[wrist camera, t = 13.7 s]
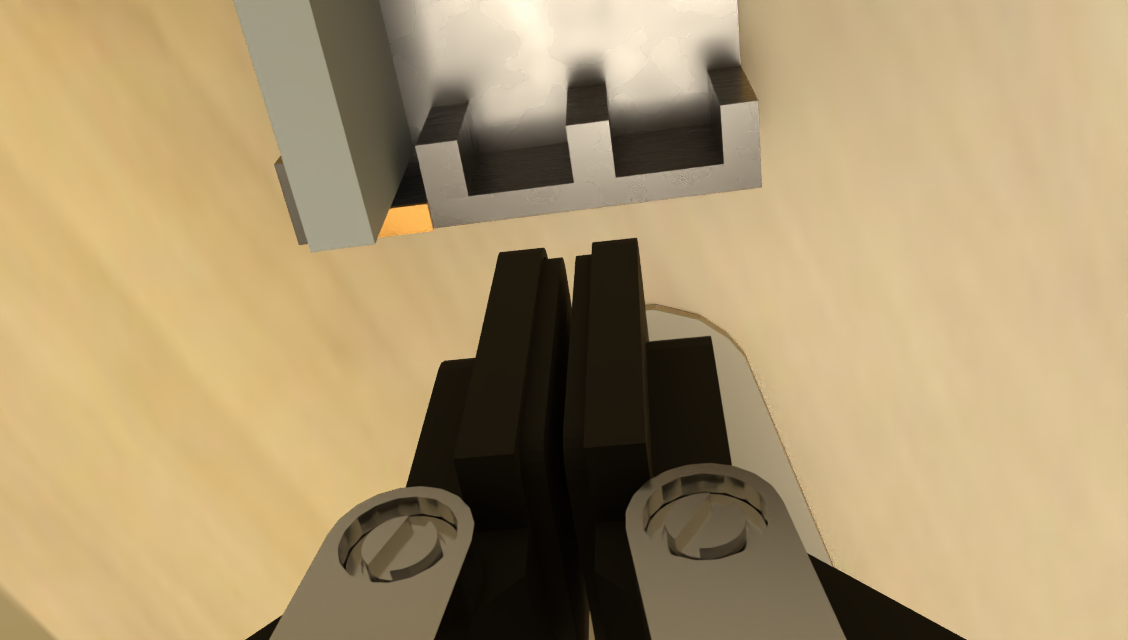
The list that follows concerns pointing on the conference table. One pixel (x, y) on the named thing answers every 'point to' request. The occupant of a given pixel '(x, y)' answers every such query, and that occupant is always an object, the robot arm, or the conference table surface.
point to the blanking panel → (331, 111)
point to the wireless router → (742, 419)
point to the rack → (564, 107)
